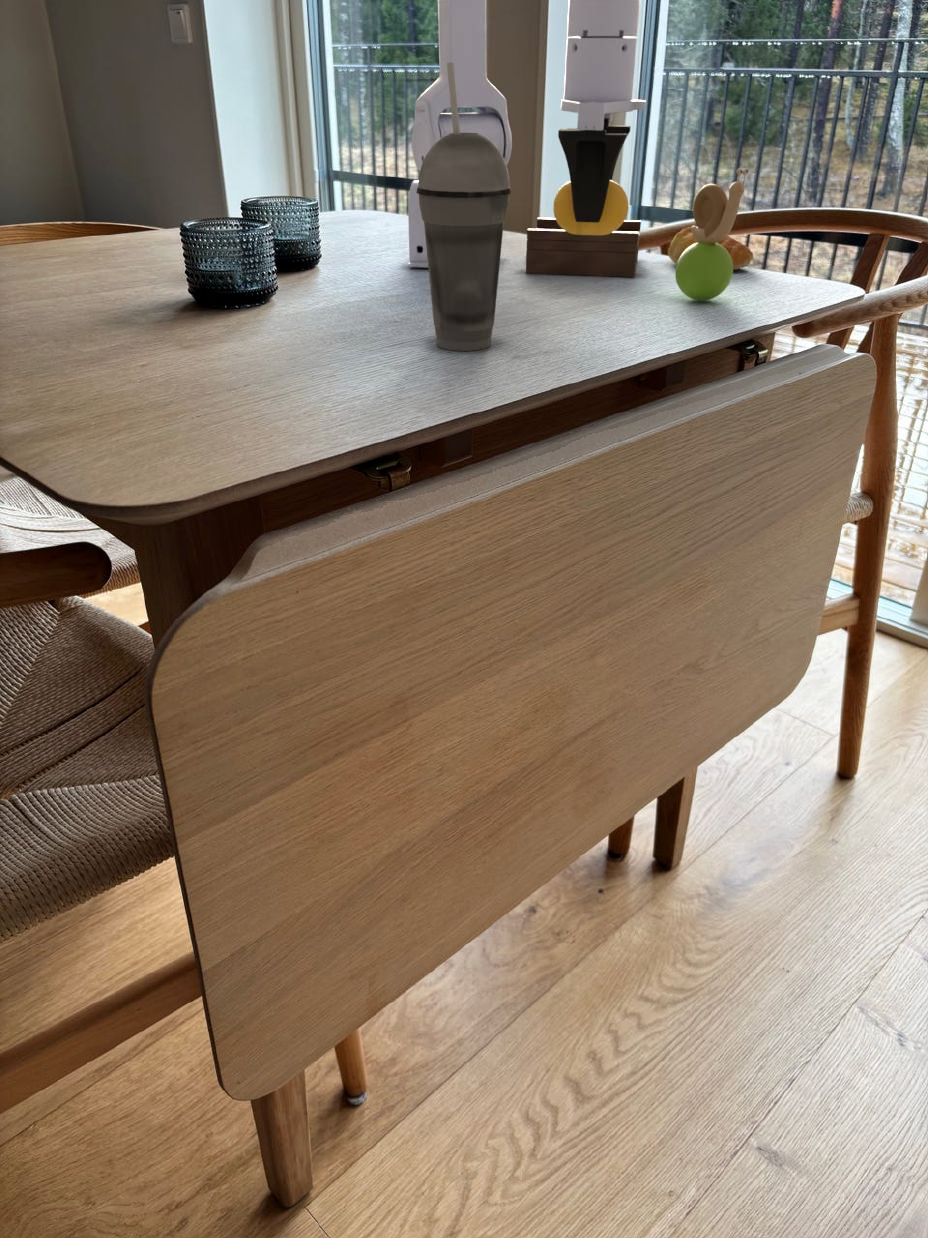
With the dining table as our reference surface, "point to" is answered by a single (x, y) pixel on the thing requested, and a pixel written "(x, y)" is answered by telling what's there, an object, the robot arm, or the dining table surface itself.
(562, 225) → the yellow oval piece
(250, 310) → the dining table surface
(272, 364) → the dining table surface
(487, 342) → the beverage cup
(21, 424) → the dining table surface
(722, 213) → the snail figurine
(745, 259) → the pastry
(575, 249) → the brown blocks
